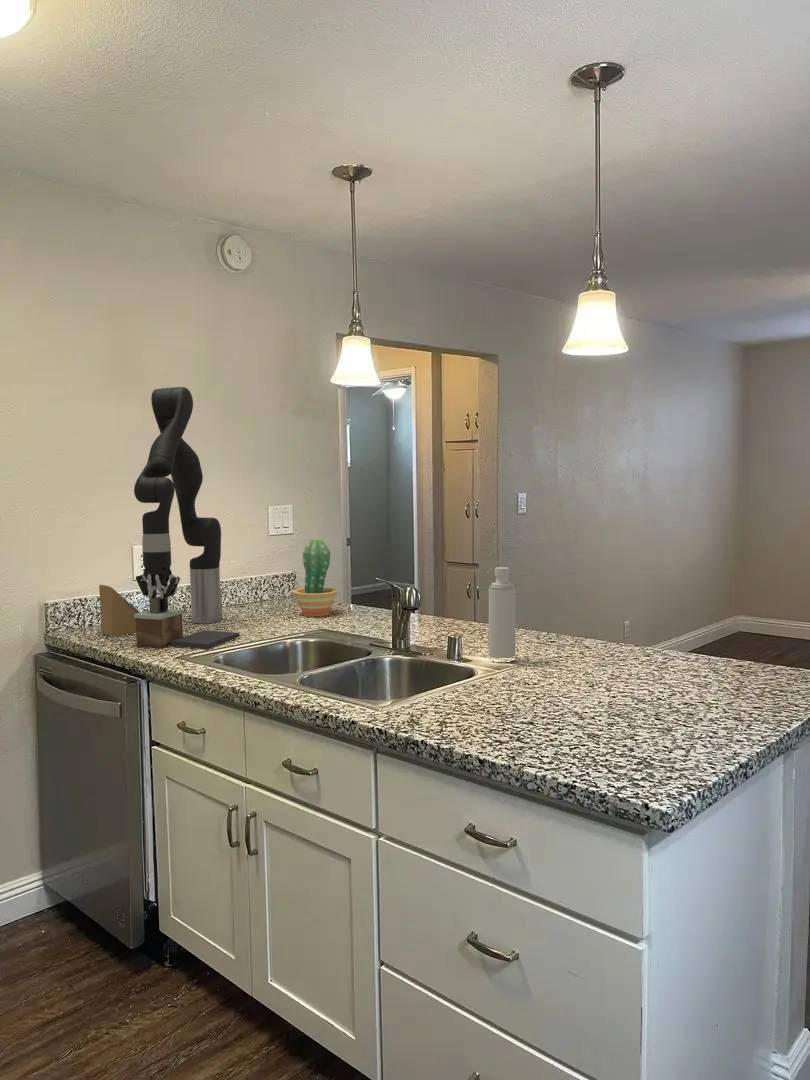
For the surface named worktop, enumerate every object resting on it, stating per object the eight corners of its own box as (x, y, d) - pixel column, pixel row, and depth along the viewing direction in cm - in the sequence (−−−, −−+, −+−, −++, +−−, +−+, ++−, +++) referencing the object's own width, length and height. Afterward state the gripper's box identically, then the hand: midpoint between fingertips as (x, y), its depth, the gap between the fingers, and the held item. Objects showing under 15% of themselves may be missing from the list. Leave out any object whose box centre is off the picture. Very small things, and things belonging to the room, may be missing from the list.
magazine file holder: (162, 630, 248) (160, 581, 247) (113, 638, 238) (111, 587, 236) (149, 626, 254) (147, 579, 253) (101, 633, 244) (99, 584, 243)
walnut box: (159, 639, 235) (158, 611, 234) (182, 641, 232) (181, 613, 231) (136, 646, 225) (135, 617, 224) (160, 648, 222) (159, 619, 222)
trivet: (204, 635, 240) (204, 630, 240) (239, 637, 236) (239, 632, 236) (170, 646, 225) (170, 641, 225) (207, 649, 221) (207, 644, 221)
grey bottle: (506, 664, 201) (507, 563, 199) (483, 660, 205) (483, 562, 203) (520, 659, 207) (520, 561, 204) (497, 655, 211) (497, 559, 208)
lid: (158, 614, 234) (157, 594, 234) (183, 616, 231) (183, 595, 231) (134, 621, 224) (133, 599, 224) (160, 623, 221) (159, 601, 221)
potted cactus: (348, 613, 273) (347, 539, 271) (314, 620, 262) (312, 542, 260) (317, 608, 283) (315, 536, 281) (282, 615, 272) (281, 540, 270)
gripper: (186, 549, 227) (188, 610, 229) (144, 547, 232) (146, 608, 234) (169, 551, 220) (171, 615, 222) (127, 550, 225) (129, 612, 227)
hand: (158, 611), depth 228 cm, fingers closed on lid, 2 cm apart
